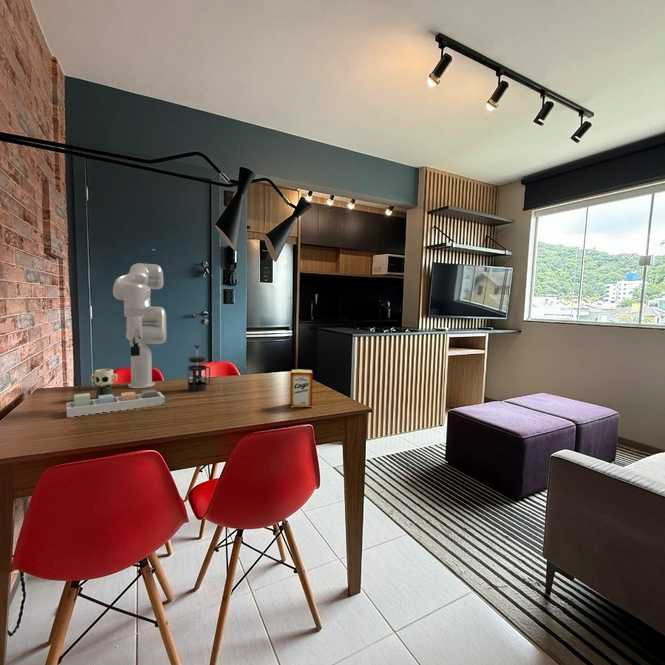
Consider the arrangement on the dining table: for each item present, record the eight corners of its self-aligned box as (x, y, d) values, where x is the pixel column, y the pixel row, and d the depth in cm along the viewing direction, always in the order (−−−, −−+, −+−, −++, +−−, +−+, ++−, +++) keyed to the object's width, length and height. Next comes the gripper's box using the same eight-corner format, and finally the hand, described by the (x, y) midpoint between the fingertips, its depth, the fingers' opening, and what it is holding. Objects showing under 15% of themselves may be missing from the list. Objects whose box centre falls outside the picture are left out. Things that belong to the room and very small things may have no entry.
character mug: (87, 400, 155) (86, 371, 154) (95, 396, 162) (94, 368, 161) (114, 400, 157) (113, 371, 156) (120, 396, 164) (120, 368, 163)
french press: (183, 391, 175) (183, 346, 173) (189, 387, 184) (189, 343, 183) (207, 392, 176) (207, 346, 174) (212, 387, 185) (212, 344, 184)
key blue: (98, 405, 144) (98, 395, 144) (112, 403, 148) (112, 394, 147) (99, 408, 140) (99, 398, 140) (114, 406, 144) (114, 396, 143)
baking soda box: (311, 403, 161) (312, 369, 160) (311, 408, 154) (312, 372, 153) (290, 403, 160) (291, 369, 159) (290, 408, 153) (290, 371, 152)
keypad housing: (66, 411, 140) (66, 402, 140) (159, 399, 161) (159, 391, 161) (66, 418, 132) (66, 408, 132) (164, 404, 153) (164, 396, 153)
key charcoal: (142, 399, 154) (142, 390, 154) (154, 398, 157) (154, 389, 157) (144, 402, 150) (144, 393, 150) (157, 400, 153) (157, 391, 153)
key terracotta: (121, 402, 149) (120, 393, 149) (134, 400, 152) (134, 391, 152) (122, 405, 145) (122, 395, 145) (136, 403, 148) (136, 394, 148)
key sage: (74, 404, 139) (73, 394, 139) (89, 402, 142) (89, 392, 142) (74, 407, 135) (74, 397, 135) (90, 405, 139) (90, 395, 138)
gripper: (122, 311, 153) (123, 353, 155) (126, 314, 141) (127, 359, 143) (141, 311, 157) (142, 352, 159) (147, 314, 146) (148, 357, 147)
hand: (135, 355), depth 151 cm, fingers closed
